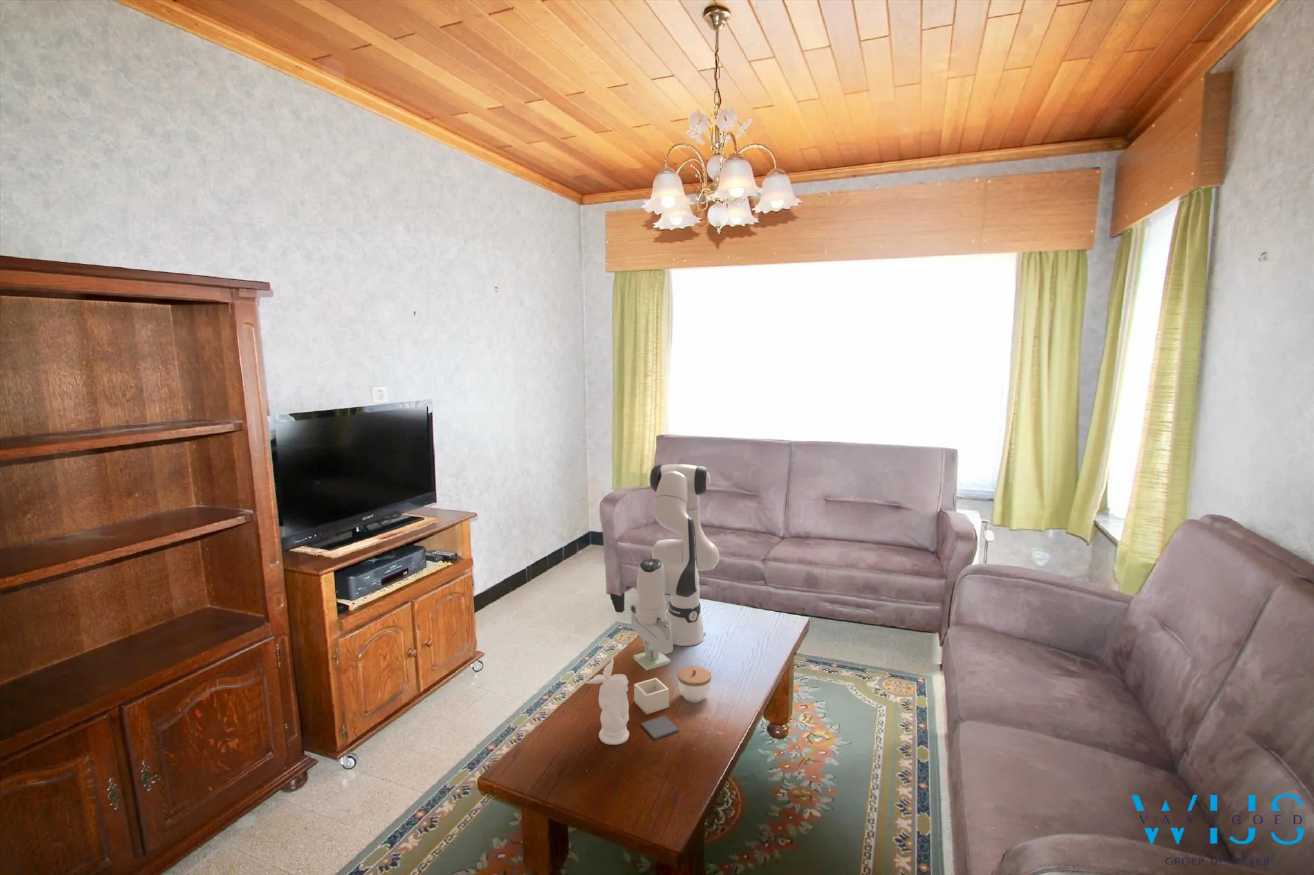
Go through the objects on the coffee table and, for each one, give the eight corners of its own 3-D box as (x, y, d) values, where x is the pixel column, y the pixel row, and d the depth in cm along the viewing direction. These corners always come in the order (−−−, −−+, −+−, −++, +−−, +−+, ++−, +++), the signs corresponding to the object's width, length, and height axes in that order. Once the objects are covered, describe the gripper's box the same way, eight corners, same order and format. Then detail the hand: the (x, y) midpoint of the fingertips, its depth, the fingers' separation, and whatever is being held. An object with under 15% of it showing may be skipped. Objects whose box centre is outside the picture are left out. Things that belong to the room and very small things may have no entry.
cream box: (634, 701, 193) (634, 684, 192) (656, 695, 197) (656, 677, 196) (646, 714, 186) (646, 696, 185) (669, 707, 190) (669, 689, 189)
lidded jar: (708, 708, 190) (709, 679, 189) (674, 704, 192) (674, 676, 191) (712, 690, 200) (713, 663, 199) (680, 686, 202) (680, 659, 201)
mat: (641, 725, 181) (641, 723, 181) (664, 717, 185) (664, 715, 185) (654, 739, 174) (654, 737, 174) (678, 731, 178) (678, 729, 178)
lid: (633, 658, 192) (633, 644, 191) (656, 651, 196) (656, 638, 195) (646, 670, 184) (646, 656, 184) (670, 663, 189) (670, 649, 188)
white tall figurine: (631, 747, 171) (631, 673, 168) (586, 751, 169) (585, 677, 166) (626, 721, 183) (626, 652, 179) (584, 725, 181) (583, 655, 178)
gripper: (678, 623, 181) (678, 667, 183) (644, 599, 198) (645, 639, 200) (659, 628, 177) (659, 672, 179) (627, 603, 195) (627, 644, 197)
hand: (651, 654), depth 190 cm, fingers closed on lid, 3 cm apart
